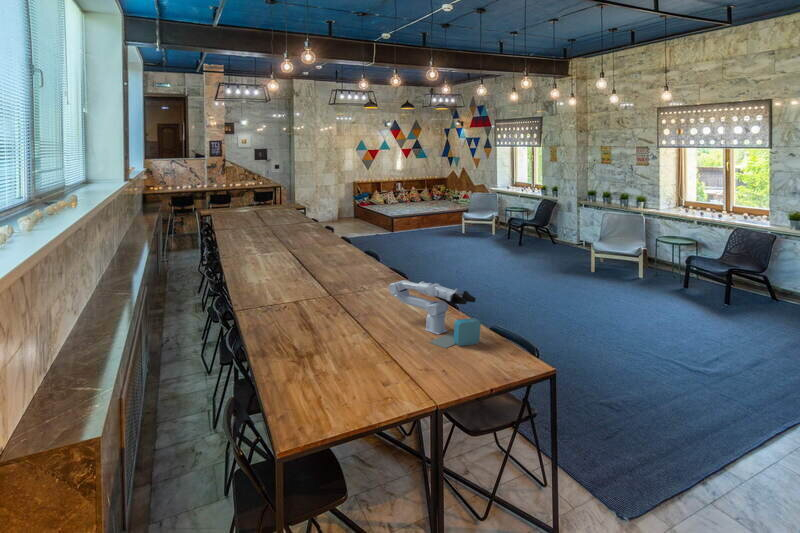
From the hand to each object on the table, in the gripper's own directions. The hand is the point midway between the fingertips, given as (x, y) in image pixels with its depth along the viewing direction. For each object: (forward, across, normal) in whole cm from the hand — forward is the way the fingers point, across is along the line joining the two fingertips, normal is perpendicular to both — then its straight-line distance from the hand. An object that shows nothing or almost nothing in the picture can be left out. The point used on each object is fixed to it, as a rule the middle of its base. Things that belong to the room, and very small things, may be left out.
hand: (470, 301), depth 244 cm
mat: (-6, -2, +21) cm, 22 cm away
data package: (+2, -2, +21) cm, 21 cm away
